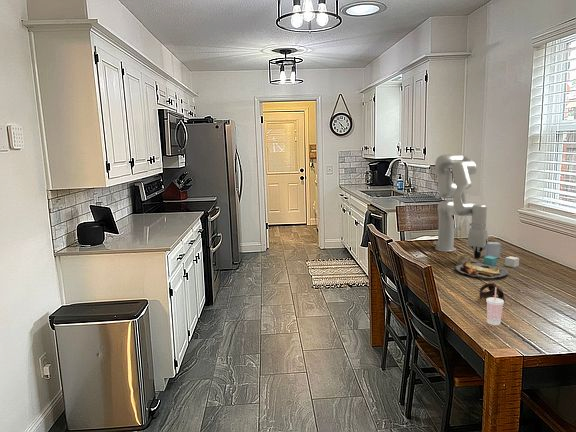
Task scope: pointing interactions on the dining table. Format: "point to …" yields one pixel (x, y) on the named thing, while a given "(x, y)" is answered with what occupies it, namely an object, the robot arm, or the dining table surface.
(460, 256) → the maple block
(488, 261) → the teal block
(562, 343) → the dining table surface
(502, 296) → the pottery mug
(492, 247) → the medicine box
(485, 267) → the food plate
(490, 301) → the beverage cup
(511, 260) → the white block
